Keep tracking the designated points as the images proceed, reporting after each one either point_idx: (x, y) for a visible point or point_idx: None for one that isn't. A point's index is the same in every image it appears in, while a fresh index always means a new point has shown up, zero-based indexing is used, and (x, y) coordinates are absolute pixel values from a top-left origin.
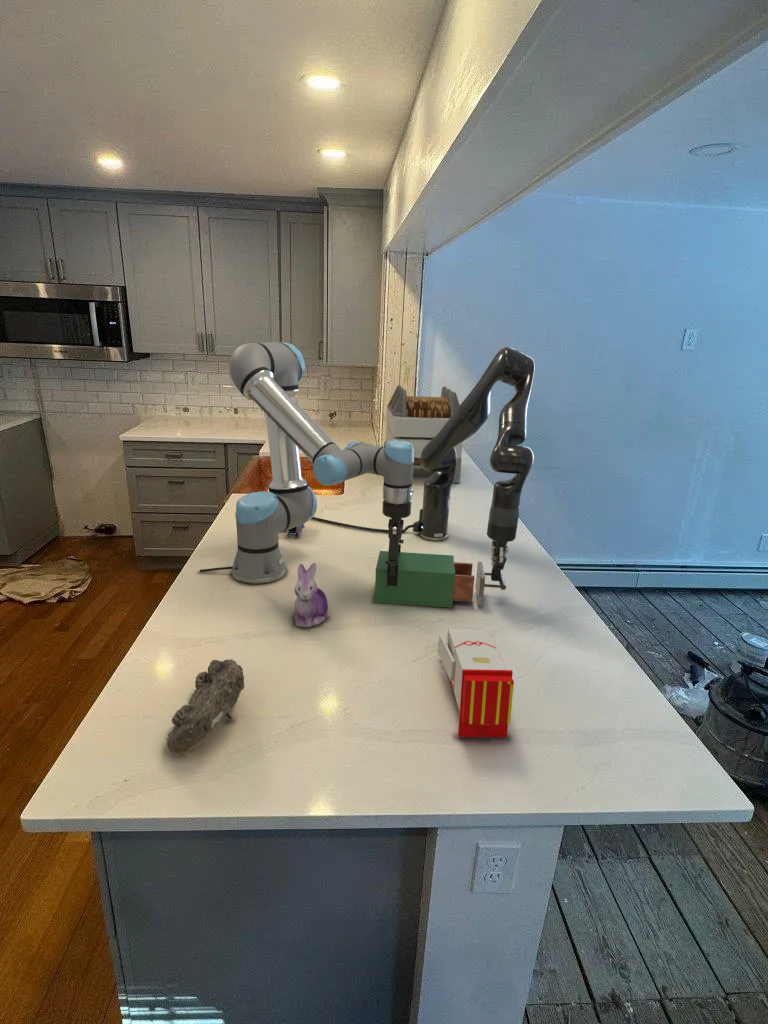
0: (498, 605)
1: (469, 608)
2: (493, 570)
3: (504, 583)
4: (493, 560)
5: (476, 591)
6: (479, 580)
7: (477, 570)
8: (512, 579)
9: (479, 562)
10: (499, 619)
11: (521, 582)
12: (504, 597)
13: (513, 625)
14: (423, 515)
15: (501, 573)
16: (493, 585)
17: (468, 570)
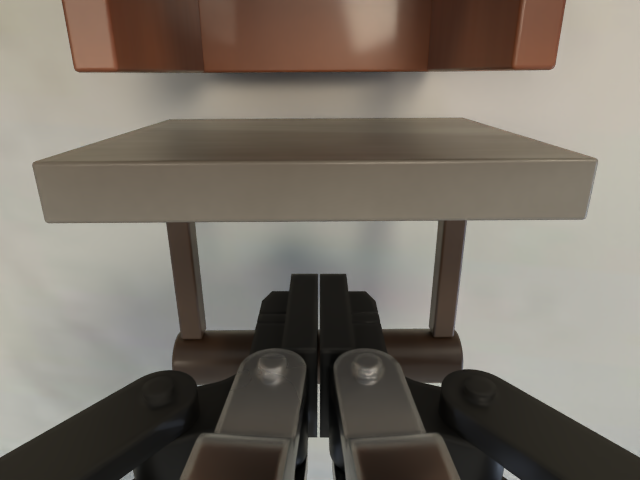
0: (270, 258)
1: None
2: (283, 342)
3: (211, 382)
4: (201, 456)
5: (351, 120)
6: (175, 146)
7: (482, 141)
8: (629, 370)
9: (552, 180)
10: (91, 248)
11: (585, 411)
12: (383, 302)
13: (49, 316)
14: None
15: (423, 377)
16: (175, 281)
17: (481, 21)
